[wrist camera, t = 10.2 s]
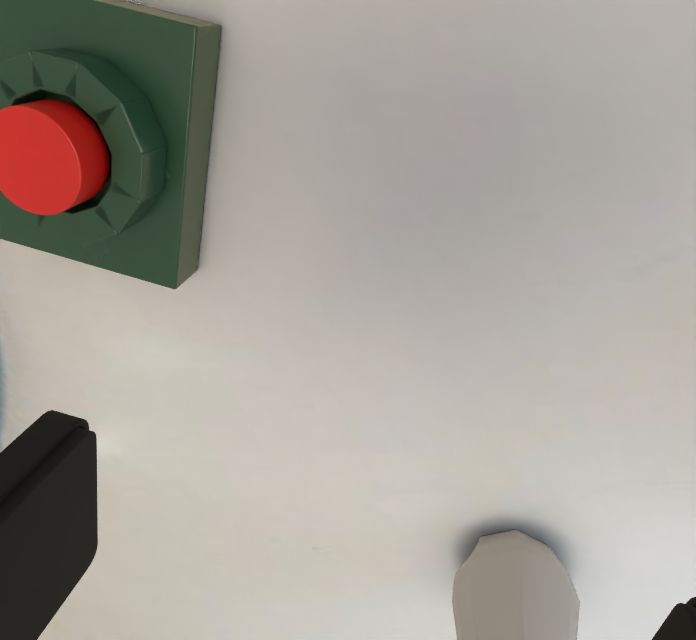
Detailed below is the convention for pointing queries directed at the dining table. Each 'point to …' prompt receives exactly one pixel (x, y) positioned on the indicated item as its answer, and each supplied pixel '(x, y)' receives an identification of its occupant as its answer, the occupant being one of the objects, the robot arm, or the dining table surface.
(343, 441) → the dining table surface
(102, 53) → the button box
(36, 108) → the button
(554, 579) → the salt shaker
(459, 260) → the dining table surface
